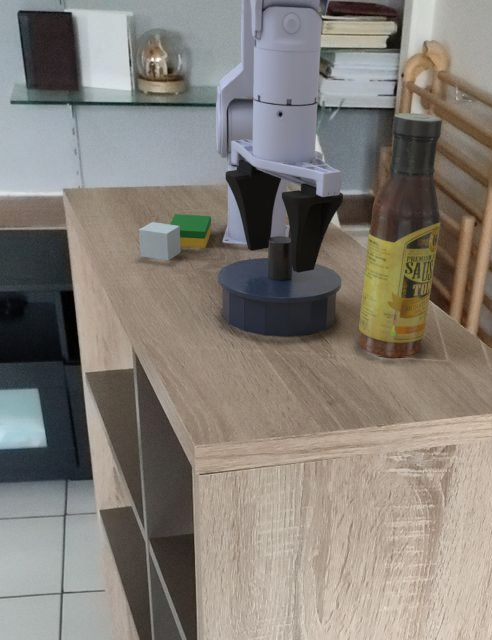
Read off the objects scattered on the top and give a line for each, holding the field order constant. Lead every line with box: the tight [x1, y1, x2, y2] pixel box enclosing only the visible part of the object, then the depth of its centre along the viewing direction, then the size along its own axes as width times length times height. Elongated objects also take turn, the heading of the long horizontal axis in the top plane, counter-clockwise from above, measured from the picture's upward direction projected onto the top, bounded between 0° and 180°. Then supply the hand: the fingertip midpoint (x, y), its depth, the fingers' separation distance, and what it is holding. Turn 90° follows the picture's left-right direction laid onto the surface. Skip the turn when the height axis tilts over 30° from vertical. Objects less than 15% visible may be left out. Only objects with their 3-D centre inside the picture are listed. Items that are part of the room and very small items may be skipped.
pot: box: [222, 288, 337, 338], centre depth 90 cm, size 11×11×4 cm
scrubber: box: [169, 213, 212, 249], centre depth 110 cm, size 7×4×2 cm, turn 179°
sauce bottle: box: [358, 112, 443, 359], centre depth 80 cm, size 6×6×20 cm
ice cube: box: [138, 221, 181, 261], centre depth 104 cm, size 4×4×4 cm
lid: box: [217, 236, 342, 303], centre depth 87 cm, size 12×12×5 cm
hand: (280, 259), depth 88 cm, fingers open, 7 cm apart
